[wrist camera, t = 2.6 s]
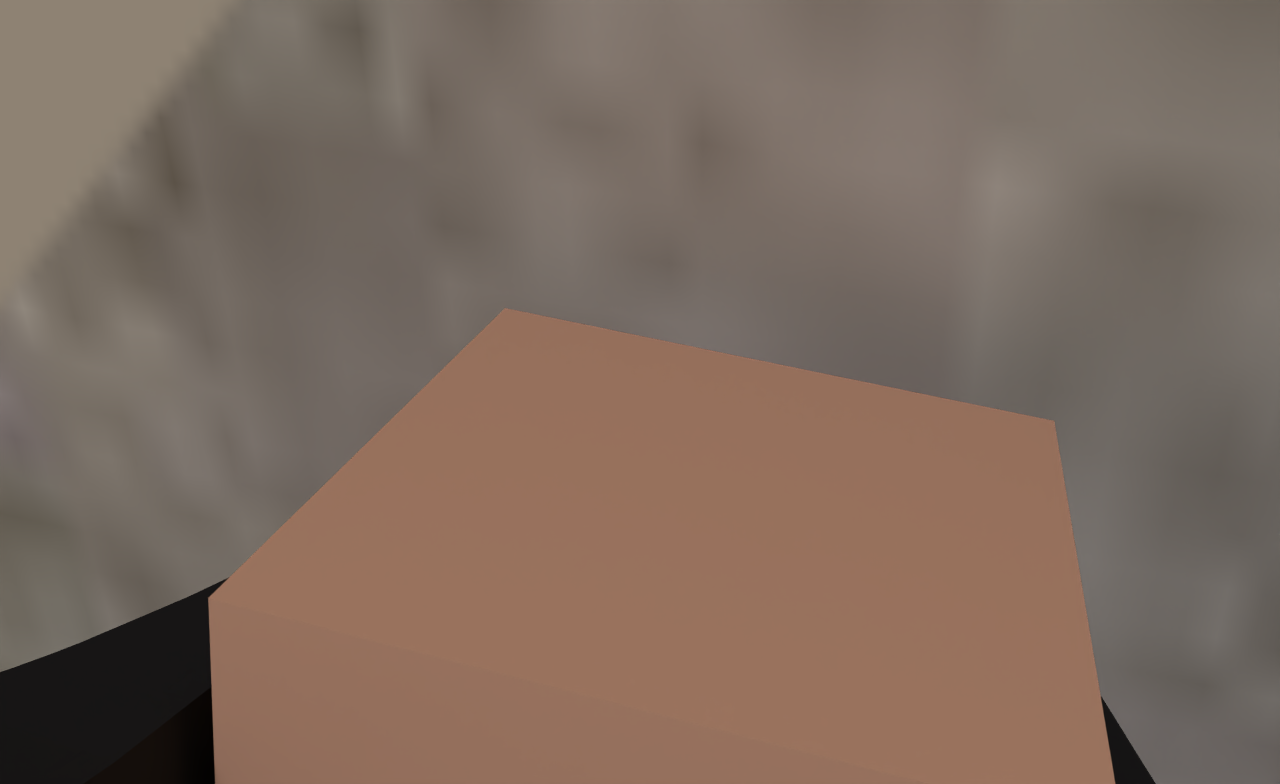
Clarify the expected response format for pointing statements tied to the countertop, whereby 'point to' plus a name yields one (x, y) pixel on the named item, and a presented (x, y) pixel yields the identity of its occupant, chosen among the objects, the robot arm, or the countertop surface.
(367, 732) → the terracotta cube
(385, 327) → the countertop surface
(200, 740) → the robot arm
